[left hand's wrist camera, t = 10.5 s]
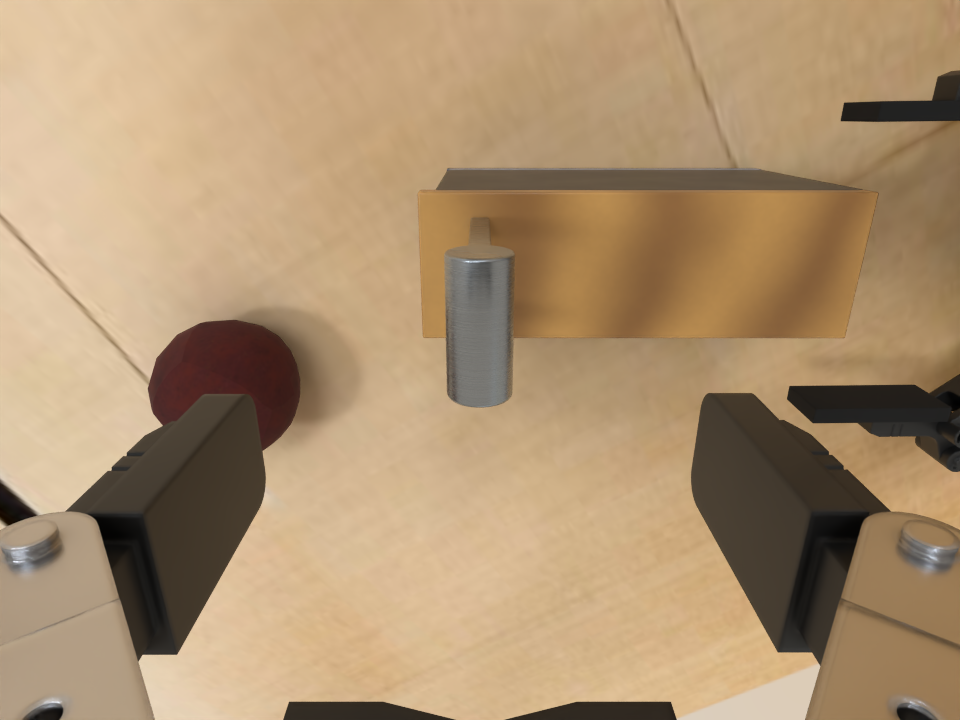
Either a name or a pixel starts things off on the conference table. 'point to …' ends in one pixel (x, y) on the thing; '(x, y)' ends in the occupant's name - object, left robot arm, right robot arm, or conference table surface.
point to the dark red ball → (228, 373)
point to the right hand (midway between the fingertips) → (826, 271)
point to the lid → (631, 269)
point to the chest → (626, 179)
